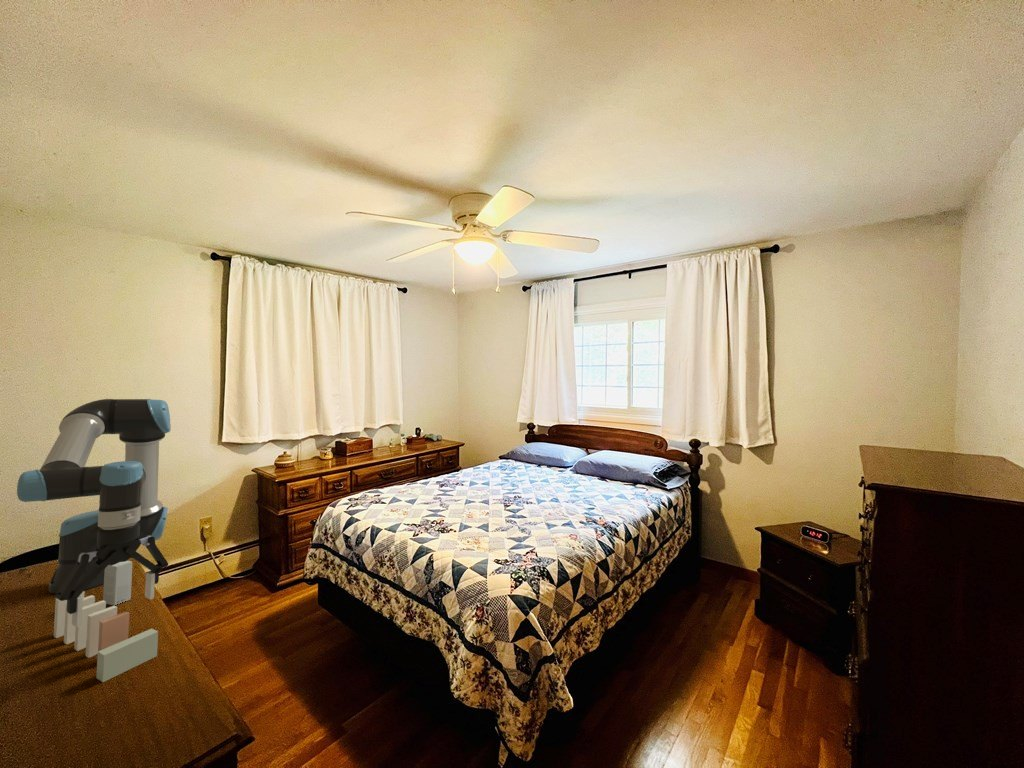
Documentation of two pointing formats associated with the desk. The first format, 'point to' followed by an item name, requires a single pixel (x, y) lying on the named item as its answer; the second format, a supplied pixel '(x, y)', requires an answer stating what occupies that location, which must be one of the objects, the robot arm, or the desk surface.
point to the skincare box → (117, 583)
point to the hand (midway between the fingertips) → (115, 610)
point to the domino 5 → (113, 630)
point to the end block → (126, 654)
